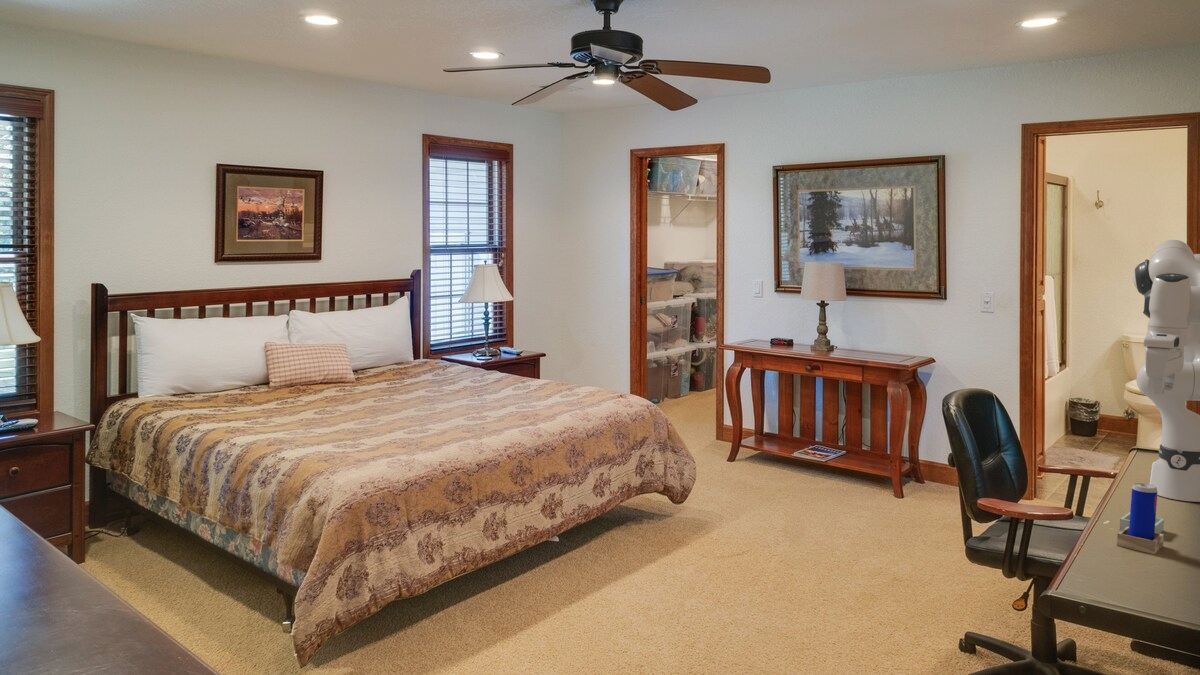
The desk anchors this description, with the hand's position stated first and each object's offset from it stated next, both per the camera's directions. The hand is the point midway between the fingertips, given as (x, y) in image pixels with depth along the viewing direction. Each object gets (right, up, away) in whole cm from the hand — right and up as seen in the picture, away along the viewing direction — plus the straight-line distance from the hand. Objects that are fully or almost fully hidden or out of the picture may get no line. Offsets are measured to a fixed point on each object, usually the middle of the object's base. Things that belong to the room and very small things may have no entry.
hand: (1163, 391), depth 215 cm
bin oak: (-13, -37, -11) cm, 40 cm away
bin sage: (-6, -35, 0) cm, 36 cm away
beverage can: (-13, -37, -11) cm, 41 cm away
